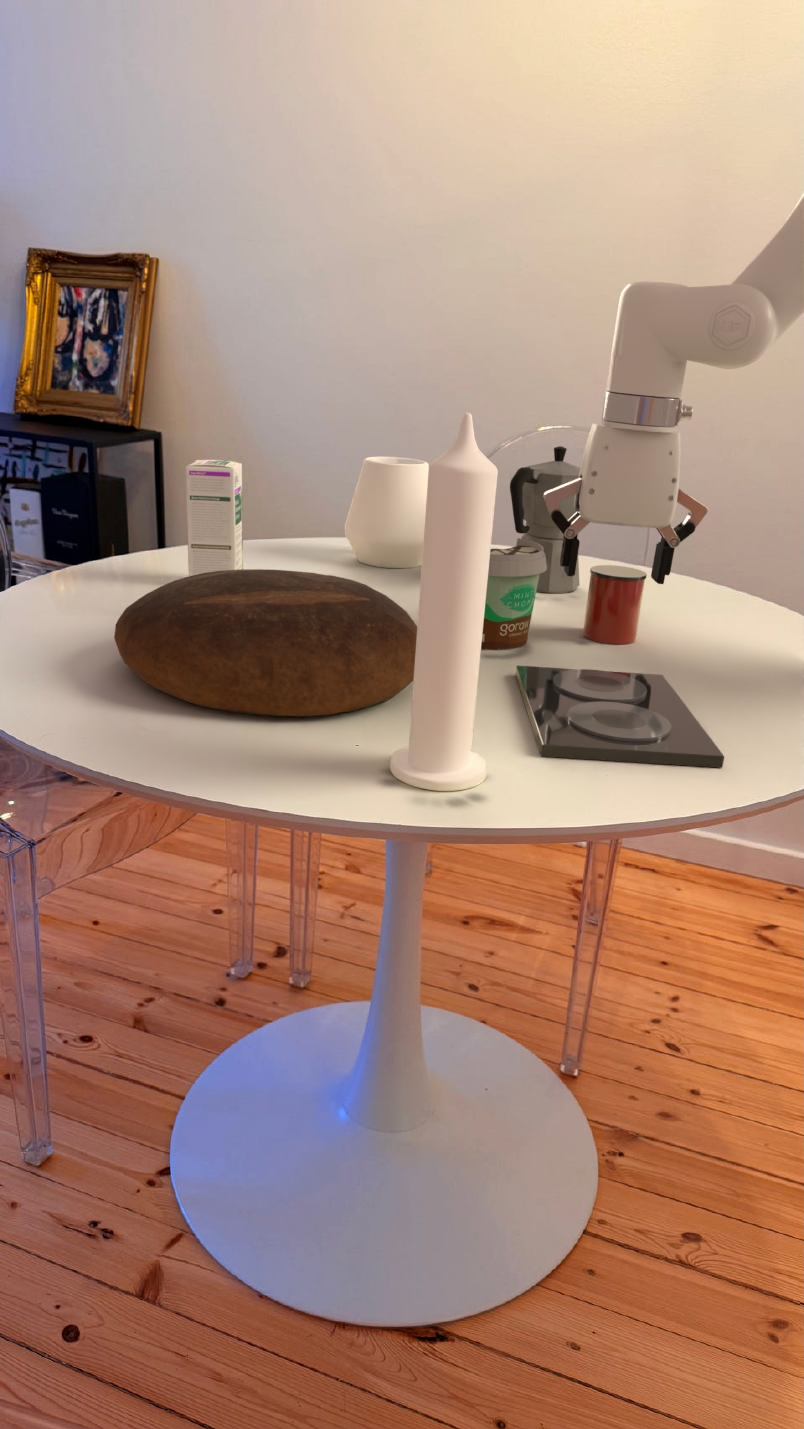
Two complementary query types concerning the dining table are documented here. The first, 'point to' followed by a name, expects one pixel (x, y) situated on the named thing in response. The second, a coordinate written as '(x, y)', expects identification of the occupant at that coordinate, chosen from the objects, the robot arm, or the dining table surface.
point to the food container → (511, 594)
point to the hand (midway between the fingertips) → (613, 577)
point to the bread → (270, 642)
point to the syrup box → (214, 516)
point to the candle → (450, 620)
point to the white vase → (389, 512)
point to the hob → (613, 717)
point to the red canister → (614, 604)
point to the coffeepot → (545, 516)
